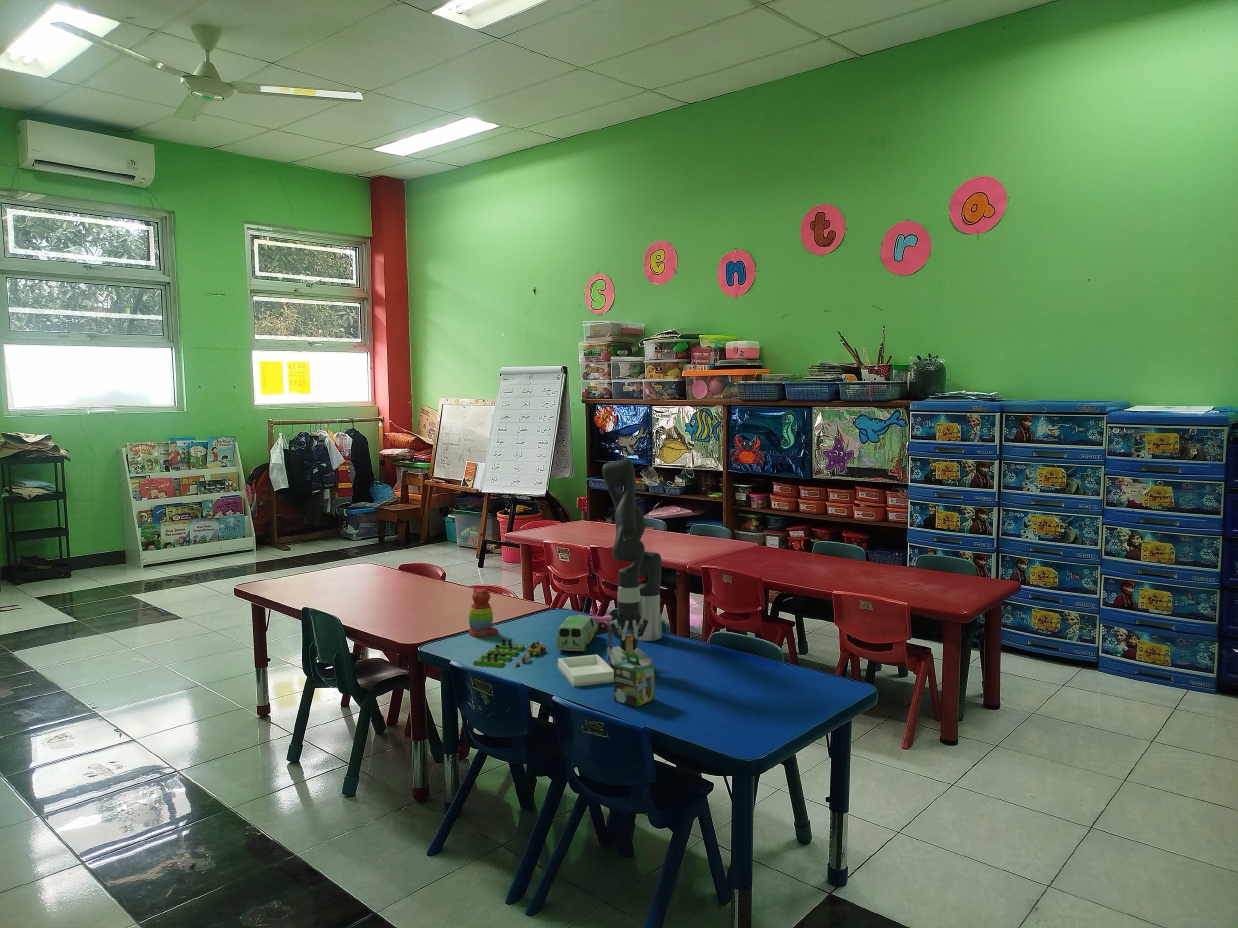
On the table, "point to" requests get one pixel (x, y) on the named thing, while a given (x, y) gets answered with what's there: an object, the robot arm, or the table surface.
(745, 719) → the table surface
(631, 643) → the pin
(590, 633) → the toy car
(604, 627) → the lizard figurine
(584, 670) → the parts tray
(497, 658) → the toy garden set
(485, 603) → the stacking bear
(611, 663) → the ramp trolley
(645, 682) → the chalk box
